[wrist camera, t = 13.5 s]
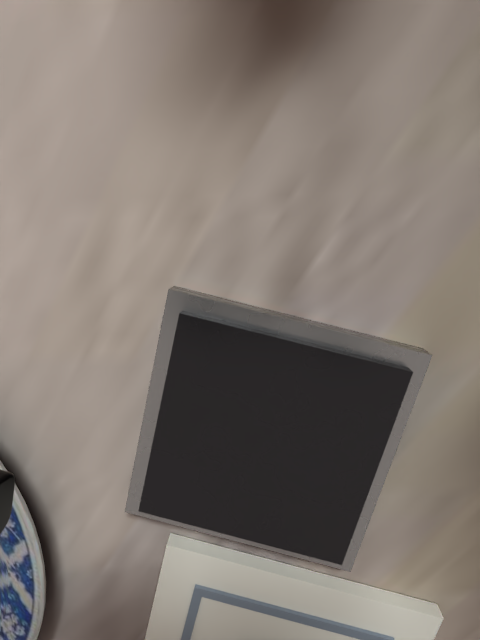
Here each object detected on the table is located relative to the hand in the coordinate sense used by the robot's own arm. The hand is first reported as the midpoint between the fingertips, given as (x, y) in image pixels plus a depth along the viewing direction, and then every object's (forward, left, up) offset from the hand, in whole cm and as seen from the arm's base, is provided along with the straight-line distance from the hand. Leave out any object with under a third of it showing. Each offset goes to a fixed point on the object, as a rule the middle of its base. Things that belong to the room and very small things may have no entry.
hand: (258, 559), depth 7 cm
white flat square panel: (-5, +19, -12) cm, 23 cm away
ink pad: (-1, +4, -12) cm, 13 cm away
